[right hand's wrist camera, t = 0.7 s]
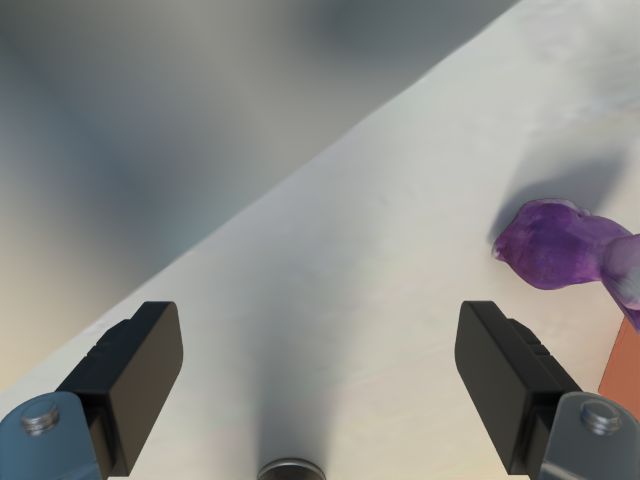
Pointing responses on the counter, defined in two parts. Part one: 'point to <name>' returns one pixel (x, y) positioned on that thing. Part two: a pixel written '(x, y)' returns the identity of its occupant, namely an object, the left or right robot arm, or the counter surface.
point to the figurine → (573, 251)
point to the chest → (624, 371)
